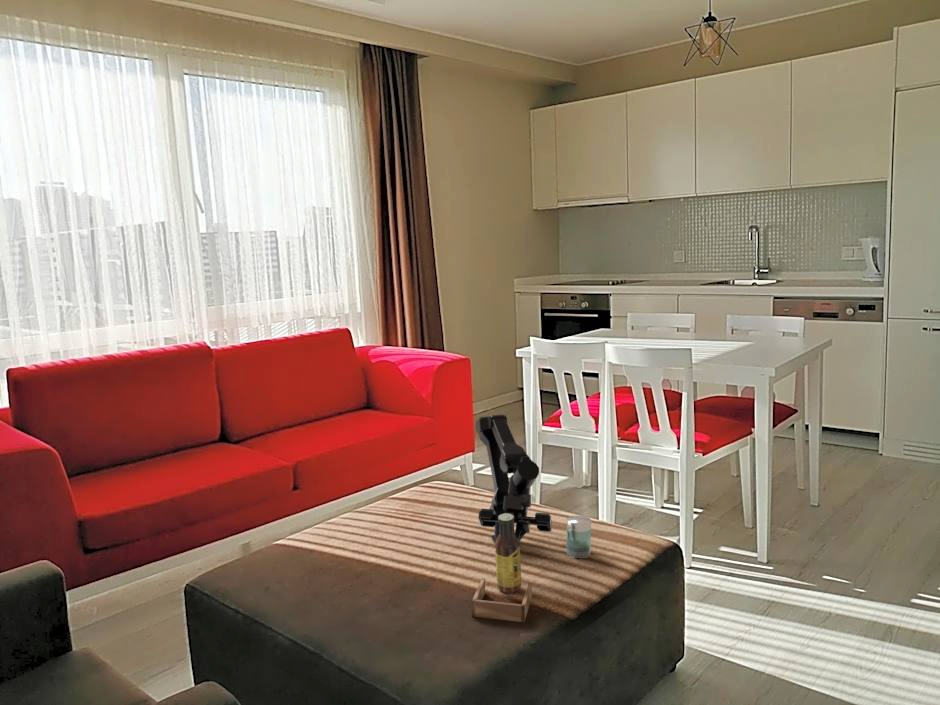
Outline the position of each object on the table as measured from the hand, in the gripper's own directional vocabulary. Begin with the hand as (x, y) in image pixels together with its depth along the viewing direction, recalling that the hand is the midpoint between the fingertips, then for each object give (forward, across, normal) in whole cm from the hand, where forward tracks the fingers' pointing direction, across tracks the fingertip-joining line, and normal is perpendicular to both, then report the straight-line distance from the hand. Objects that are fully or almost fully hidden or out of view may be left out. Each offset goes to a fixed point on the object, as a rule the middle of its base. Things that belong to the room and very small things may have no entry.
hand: (511, 551), depth 201 cm
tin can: (-9, +15, +22) cm, 28 cm away
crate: (+14, 0, -1) cm, 15 cm away
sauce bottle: (+8, 0, +5) cm, 9 cm away
